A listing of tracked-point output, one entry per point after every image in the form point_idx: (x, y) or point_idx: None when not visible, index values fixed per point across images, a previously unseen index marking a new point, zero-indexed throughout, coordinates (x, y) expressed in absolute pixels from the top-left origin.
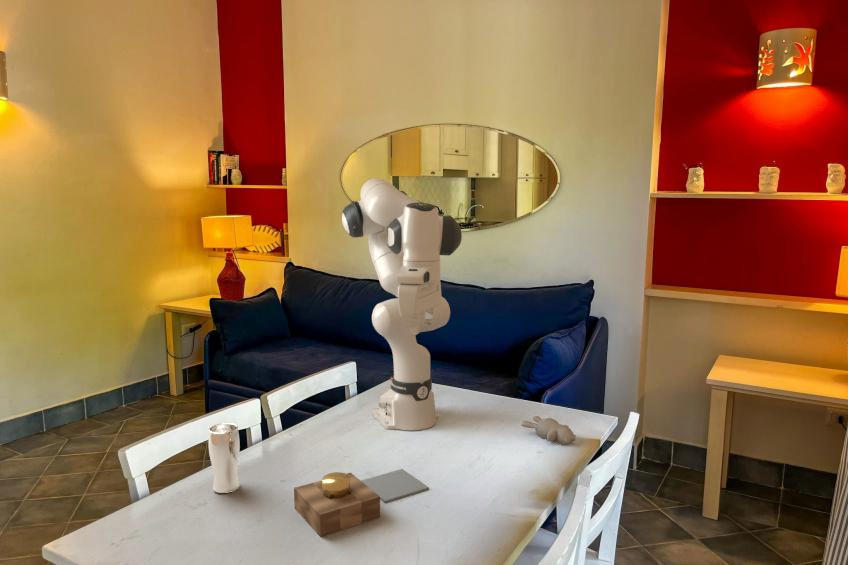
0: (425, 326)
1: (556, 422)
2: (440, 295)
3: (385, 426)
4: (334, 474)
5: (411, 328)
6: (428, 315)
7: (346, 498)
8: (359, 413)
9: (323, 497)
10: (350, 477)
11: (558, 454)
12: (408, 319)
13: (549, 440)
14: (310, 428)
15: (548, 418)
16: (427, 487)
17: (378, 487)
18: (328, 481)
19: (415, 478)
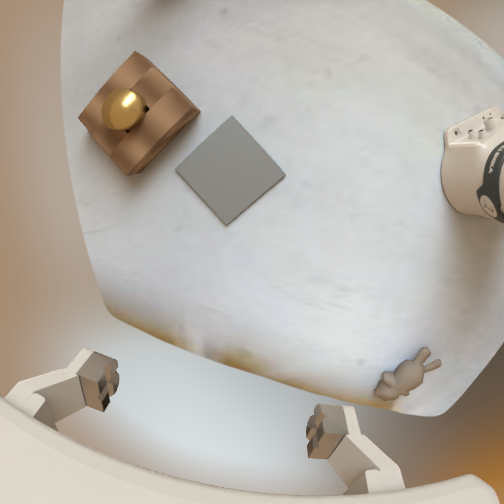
0: (316, 405)
1: (408, 389)
2: None
3: (447, 129)
4: (129, 100)
5: (71, 367)
6: (353, 461)
7: (114, 132)
8: (490, 87)
9: None
10: (174, 112)
11: (352, 379)
12: (17, 387)
13: (382, 375)
14: (421, 12)
15: (420, 382)
16: (225, 223)
17: (213, 149)
18: (109, 102)
19: (252, 201)
